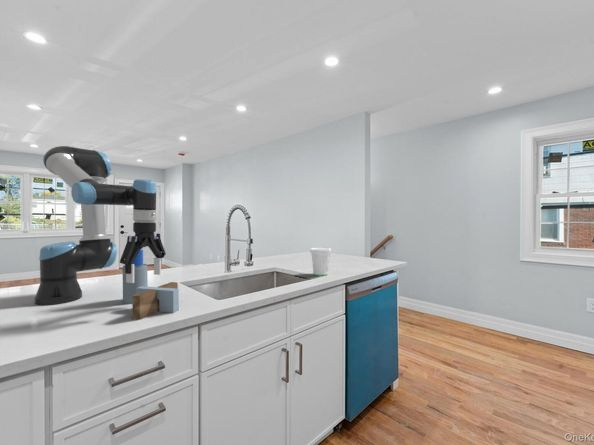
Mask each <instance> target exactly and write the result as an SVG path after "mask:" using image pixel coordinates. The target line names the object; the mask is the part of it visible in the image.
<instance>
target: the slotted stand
mask: <svg viewBox="0 0 594 445" xmlns="http://www.w3.org/2000/svg"><path fill="white" fill-rule="evenodd" d="M178 284H179V283H178V282H177V281H176V282H175V281H173V282H172V281H170V282H168V283H167V282H166V283H165V284H162V285H159V286H157V287H161V288H174V289H179V285H178ZM131 305H132V319H133V320H143V319H145V318H147V317H149V316H152V315H153V314H155V313H157V312H159V300H158V299H157V297H156V290H147V291H144V292H141V293H138V294H135V295H132V304H131Z"/></svg>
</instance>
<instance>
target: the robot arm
mask: <svg viewBox="0 0 594 445" xmlns="http://www.w3.org/2000/svg"><path fill="white" fill-rule="evenodd" d="M42 160H43V165H44V168H46V169H47V170H48V171H49V172H50V173H51V174H53V175H55V176H58V177H59V178H60V179H61V180H62V181H63V183H65V184H66V185H68V186H69V188H70V190H71V198H72V201H73V202H74V203H76V204H80V208H81V209H80V210H81V223H82V236H81V238H80V239H79V242H78V243H79V244H77V243H76V241H65V242H56V243H51V244H48V245H44V246H42V247H41V248H40V251H39V257H38V259H39V274H40V275H39V276H40V279H39V280H40V282H39V286H38V287H37V291H36V294H35V296H34V304H36V305H41V306H44V305H45V306H47V305H57V304H58V305H59V304H65V303H69V302H73V301H77V300H79V299H81V298H82V297H83V290H82V289H81V288H82V287H81V286H80V284H79V281H78V279H77V278H78V277H77V274H78V272H85V271H93V270H98V269H99V270H102V269H105V268H106V269H107V268H110V267H111V266H113V265H114V264H115V262H116V260H117V254H118V250H117V246H116V243H114V242H112V241H111V237H109V236H108V235H107V231H106V230H107V229H106V228H107V227H106V214H105V213H106V212H105V206H106V205H108V206H124V207H125V206H128V207H129V206H132V208H133V209H132V215H133V216H132V217H133V218H132V220H133V221H134V222H133V224H132V231H133V233H134V235H128V236H127V240H126V243H125V247H124V249H123V252H122V255H121V256H120V257H121V258H120V259H119V263H120V264H122V265H125V273H126V282H127V283H134V264H132V263H133V261H134V260H135V258H136V256H137V255H138V253H139V251H140V250H143V248H146V247H148V248H149V250H150V251H151V252H152V254H153V256H154V258H153V275H158V276H159V275H160V276H161V275H162V259H164V258H165V256H166V250H165V248H164V245H163V243H162V240H161V239H162V238H161V233H158V232H156V231H157V223H156V222H155V221H157V185H156V182H155V181H154V180H152V179H151V180H150V179H135V180H133V183H132V185H122V184H111V183H110V184H109V183H104V182H106V181H107V178H108V177H110V175H111V174H112V172H111V171H112V163H111V160H110V158H109V156H108V155H107V154H106V153H105V152H102V151H98V150H95V149H92V150H91V149H85V148H82V147H81V148H79V147H75V146H70V145H69V146H68V145H61V146H60V145H58V146H54V147H52V148H50V149H48V150H47V151H46V152H45V154H44V156H43V159H42Z"/></svg>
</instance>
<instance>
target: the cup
mask: <svg viewBox="0 0 594 445" xmlns="http://www.w3.org/2000/svg"><path fill="white" fill-rule="evenodd" d="M309 252H310V253H311V261H312V270H313V273H312V274H313V276H318V277H325V276H328V274H329V273H328V272H329V262H330V254H331V252H332V248H330V247H311V248H309Z"/></svg>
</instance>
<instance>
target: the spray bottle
mask: <svg viewBox="0 0 594 445" xmlns="http://www.w3.org/2000/svg"><path fill="white" fill-rule="evenodd" d="M132 264H134V283H127V282H126V273H125V264H123V265H122V302H123V304H131V305H132V295H135V294H136V288H138V287H141V286H147V287H149V285H148V281H149V280H148V265H147V264H148V263H144V250H143V249H141V250H140V251H139V253H138V255H137V256H136V258H135V260H134V261H133V263H132Z"/></svg>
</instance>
